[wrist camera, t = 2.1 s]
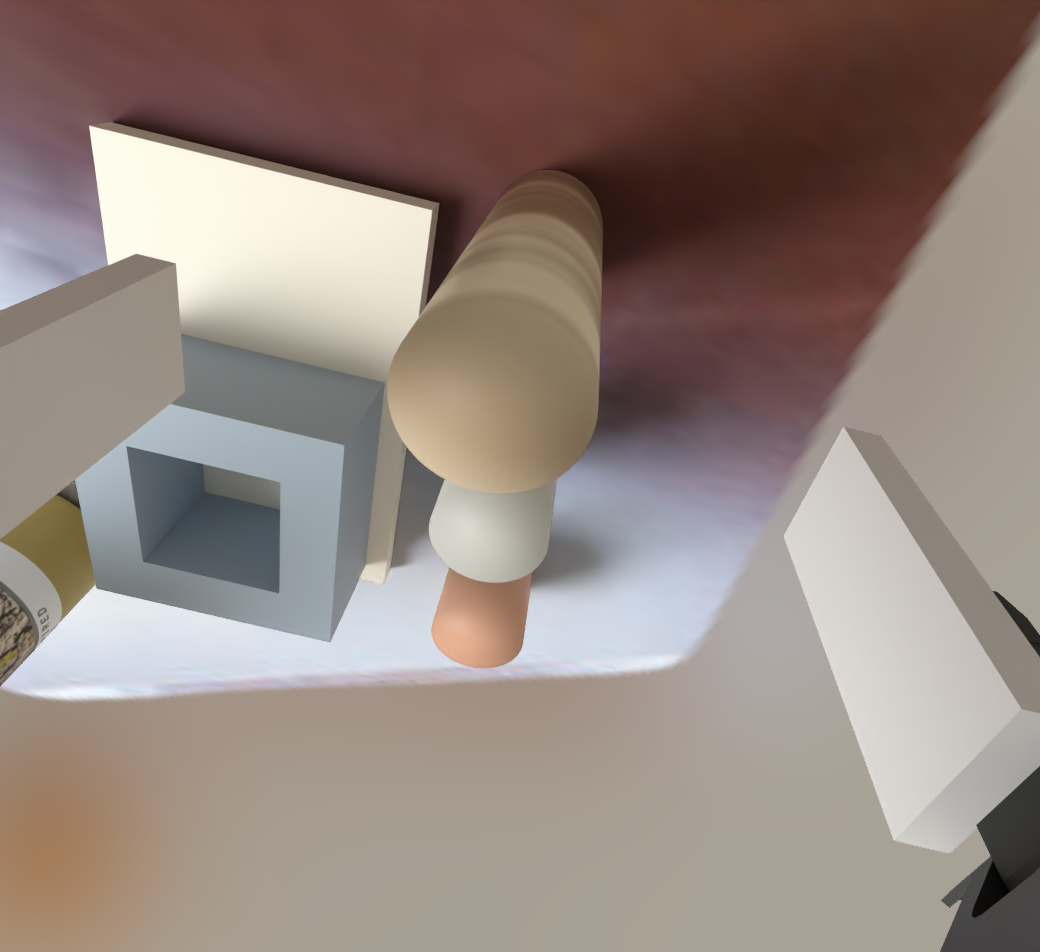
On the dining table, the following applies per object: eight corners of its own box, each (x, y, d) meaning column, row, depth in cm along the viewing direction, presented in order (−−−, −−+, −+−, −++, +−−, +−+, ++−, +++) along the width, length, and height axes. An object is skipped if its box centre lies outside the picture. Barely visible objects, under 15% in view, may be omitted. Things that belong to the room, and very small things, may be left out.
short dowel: (460, 521, 32) (438, 593, 28) (541, 540, 32) (531, 614, 28) (448, 581, 34) (426, 656, 30) (524, 599, 34) (512, 676, 30)
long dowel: (504, 157, 23) (398, 276, 11) (616, 185, 23) (625, 332, 12) (483, 270, 25) (378, 467, 14) (586, 295, 25) (568, 513, 14)
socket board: (111, 122, 24) (-26, 145, 19) (439, 203, 24) (393, 247, 19) (158, 514, 34) (76, 599, 29) (390, 568, 34) (351, 662, 29)
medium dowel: (478, 368, 28) (437, 473, 21) (573, 391, 28) (562, 502, 21) (463, 449, 30) (421, 567, 23) (550, 470, 30) (534, 593, 23)
